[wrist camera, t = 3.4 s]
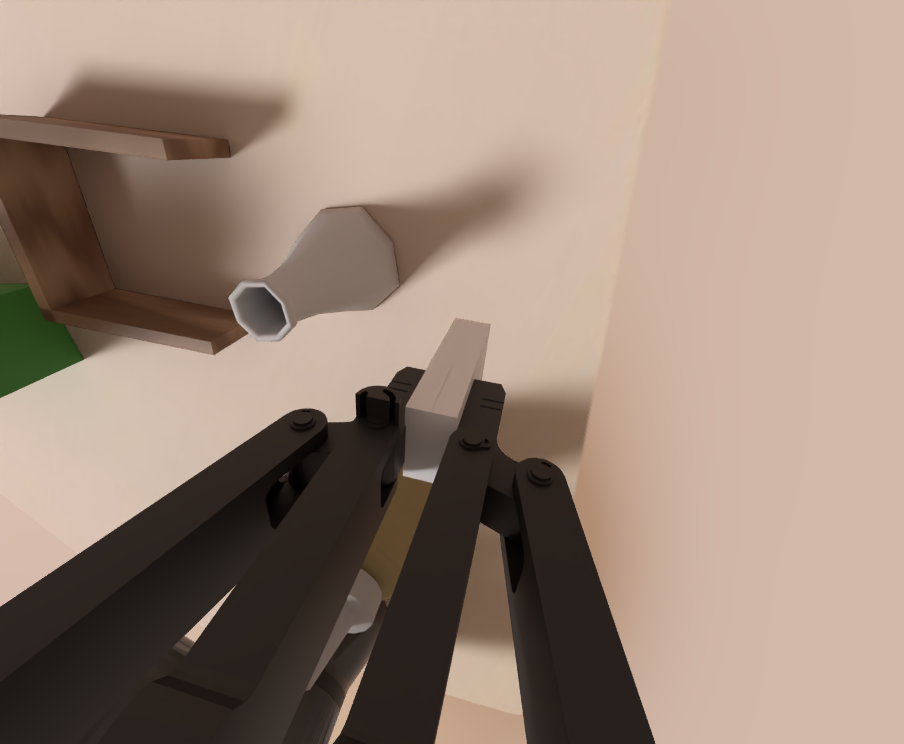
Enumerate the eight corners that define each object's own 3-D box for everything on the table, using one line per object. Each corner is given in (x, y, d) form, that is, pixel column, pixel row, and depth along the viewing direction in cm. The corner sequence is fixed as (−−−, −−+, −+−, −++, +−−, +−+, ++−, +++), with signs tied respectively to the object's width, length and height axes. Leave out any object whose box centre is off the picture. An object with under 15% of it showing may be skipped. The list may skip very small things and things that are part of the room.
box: (258, 326, 32) (213, 355, 28) (108, 298, 34) (44, 320, 30) (227, 139, 25) (162, 138, 21) (42, 116, 27) (-52, 111, 23)
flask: (368, 185, 25) (273, 206, 16) (417, 292, 28) (357, 357, 19) (282, 229, 28) (162, 267, 19) (335, 322, 30) (250, 392, 22)
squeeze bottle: (453, 412, 32) (363, 658, 17) (457, 486, 36) (387, 740, 21) (359, 404, 34) (200, 621, 18) (373, 476, 38) (251, 703, 22)
